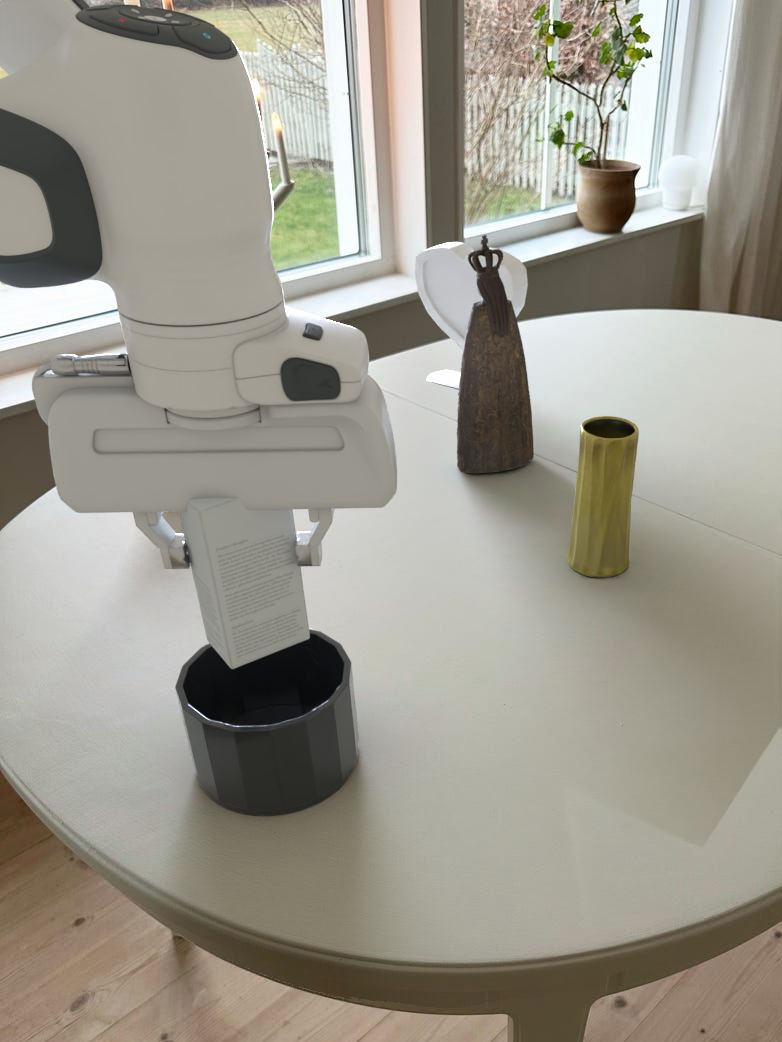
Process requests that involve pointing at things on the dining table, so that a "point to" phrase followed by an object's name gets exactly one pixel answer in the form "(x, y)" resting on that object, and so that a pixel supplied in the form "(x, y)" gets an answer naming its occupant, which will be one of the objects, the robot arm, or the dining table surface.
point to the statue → (493, 379)
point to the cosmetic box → (245, 578)
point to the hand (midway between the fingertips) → (245, 563)
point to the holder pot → (271, 726)
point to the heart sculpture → (460, 291)
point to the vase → (603, 497)
